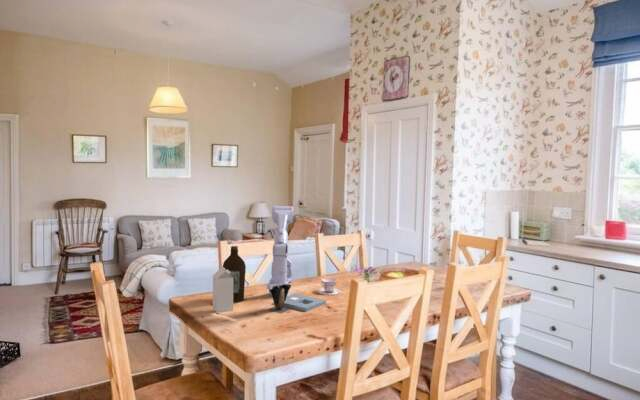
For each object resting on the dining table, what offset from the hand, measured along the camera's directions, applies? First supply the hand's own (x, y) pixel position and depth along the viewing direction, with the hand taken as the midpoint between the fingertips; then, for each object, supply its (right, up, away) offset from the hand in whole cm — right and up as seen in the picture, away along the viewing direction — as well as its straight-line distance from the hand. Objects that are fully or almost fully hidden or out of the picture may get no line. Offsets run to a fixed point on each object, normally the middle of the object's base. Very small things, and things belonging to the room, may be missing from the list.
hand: (279, 302), depth 189 cm
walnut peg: (0, -2, 0) cm, 2 cm away
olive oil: (-23, -3, +16) cm, 28 cm away
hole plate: (+8, -4, +9) cm, 13 cm away
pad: (0, -4, 0) cm, 4 cm away
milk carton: (-24, -4, -1) cm, 25 cm away
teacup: (+22, -3, +33) cm, 40 cm away
